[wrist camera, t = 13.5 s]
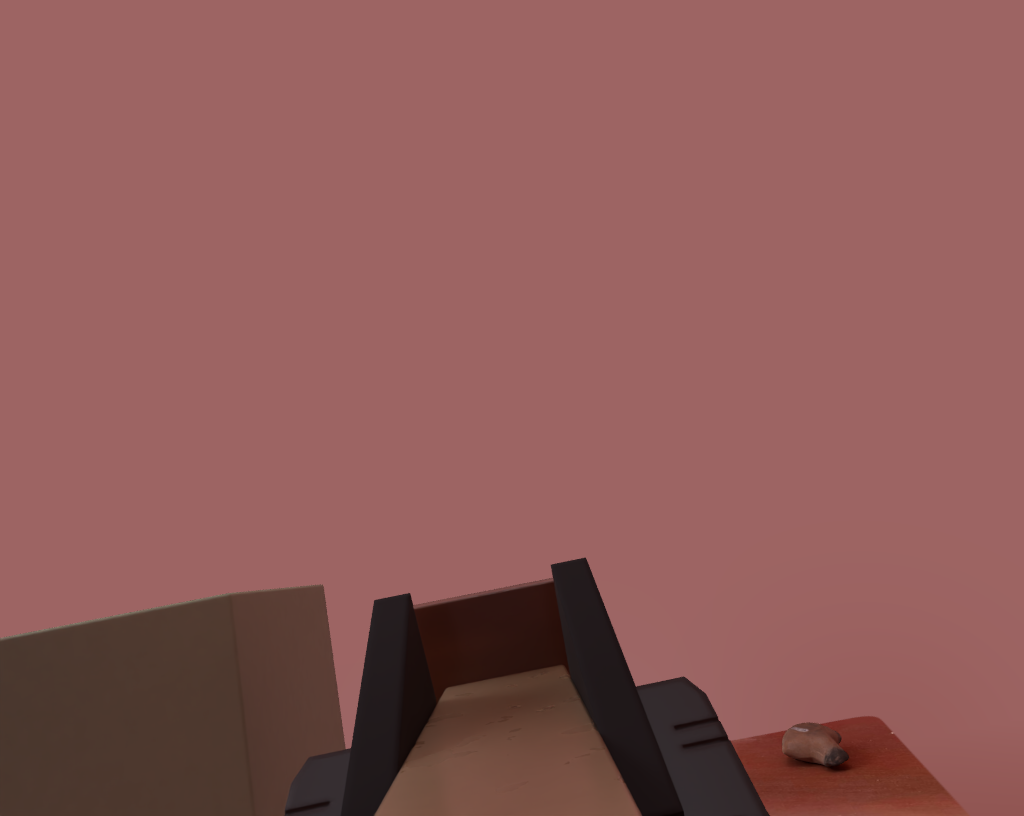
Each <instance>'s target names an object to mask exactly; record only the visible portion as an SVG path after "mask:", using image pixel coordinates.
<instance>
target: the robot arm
mask: <svg viewBox="0 0 1024 816" xmlns="http://www.w3.org/2000/svg"><path fill="white" fill-rule="evenodd" d="M551 568H552V575H553V580H554V586H555V592H556V597H557V603H558V609H559V614H560V620H561V626H562V631H563V637H564V643H565V648H566V654H567V660H568V666H569V671H570V675H571V679H572V681H573V683H574V685H575V687H576V689H577V691H578V693H579V695H580V697H581V699H582V701H583V703H584V705H585V706H586V708H587V710H588V712H589V714H590V716H591V718H592V720H593V722H594V724H595V726H596V728H597V730H598V732H599V734H600V735H601V737H602V739H603V741H604V743H605V745H606V747H607V749H608V750H609V752H610V754H611V756H612V758H613V760H614V762H615V764H616V766H617V768H618V770H619V772H620V774H621V776H622V778H623V779H624V781H625V783H626V785H627V787H628V789H629V791H630V793H631V795H632V797H633V799H634V801H635V803H636V805H637V807H638V808H639V810H640V812H641V814H642V816H770V815H769V814H768V812H767V811H766V809H765V807H764V805H763V803H762V801H761V799H760V797H759V795H758V793H757V792H756V790H755V788H754V786H753V784H752V782H751V780H750V778H749V776H748V774H747V772H746V770H745V768H744V766H743V765H742V763H741V761H740V759H739V757H738V755H737V753H736V751H735V749H734V747H733V745H732V743H731V741H730V740H729V739H728V736H727V734H726V732H725V730H724V728H723V726H722V724H721V722H720V721H719V720H718V716H717V714H716V712H715V711H714V709H713V707H712V705H711V703H710V701H709V699H708V697H707V695H706V694H705V693H704V692H703V691H702V690H700V689H699V688H698V687H696V686H695V685H694V684H693V683H691V682H690V681H689V680H688V679H687V678H685V677H680V678H675V679H671V680H666V681H661V682H656V683H651V684H647V685H642V686H637V687H636V686H635V683H634V681H633V678H632V676H631V673H630V671H629V668H628V665H627V663H626V660H625V658H624V655H623V652H622V650H621V647H620V645H619V642H618V640H617V637H616V634H615V632H614V629H613V627H612V624H611V621H610V619H609V616H608V614H607V611H606V609H605V606H604V603H603V601H602V598H601V596H600V593H599V590H598V588H597V585H596V583H595V580H594V577H593V575H592V572H591V570H590V567H589V564H588V562H587V560H586V558H582V559H577V560H572V561H567V562H562V563H557V564H552V565H551ZM435 707H436V696H435V692H434V688H433V684H432V680H431V676H430V672H429V668H428V664H427V660H426V656H425V652H424V648H423V644H422V640H421V636H420V631H419V627H418V623H417V619H416V615H415V611H414V607H413V603H412V600H411V595H410V593H408V594H403V595H398V596H393V597H388V598H383V599H378V600H375V601H374V606H373V613H372V618H371V625H370V632H369V638H368V644H367V651H366V657H365V663H364V669H363V676H362V682H361V689H360V695H359V701H358V708H357V714H356V720H355V727H354V733H353V740H352V747H351V748H350V749H345V750H341V751H336V752H331V753H326V754H321V755H317V756H312V757H309V758H308V759H307V761H306V762H305V764H304V765H303V767H302V768H301V770H300V771H299V773H298V774H297V775H296V777H295V778H294V780H293V781H292V783H291V786H290V790H289V794H288V798H287V802H286V806H285V816H374V815H375V813H376V812H377V810H378V808H379V806H380V804H381V803H382V801H383V799H384V797H385V796H386V794H387V792H388V790H389V788H390V787H391V785H392V783H393V781H394V780H395V778H396V776H397V774H398V773H399V771H400V769H401V767H402V765H403V764H404V762H405V760H406V758H407V757H408V755H409V753H410V751H411V749H412V748H413V746H414V744H415V742H416V741H417V739H418V737H419V735H420V734H421V732H422V730H423V728H424V726H425V725H426V723H427V721H428V719H429V718H430V716H431V714H432V712H433V711H434V709H435Z"/></svg>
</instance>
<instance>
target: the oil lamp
mask: <svg viewBox="0 0 1024 816" xmlns="http://www.w3.org/2000/svg"><path fill="white" fill-rule="evenodd" d="M840 742H841V736H840V735H839V733H837V732H836V731H834V730H832V729H830V728H828V727H826V726H823V725H820V724H817V723H801V724H797V725H794V726H793V727H791V728H789V729H788V730H787V731H786V733H785V734H784V736H783V740H782V752H783V753H784V754H785V755H787V756H789V757H792V758H795V759H797V760H802V761H806V762H811V763H819V764H823V765H825V766H826V767H830V766H838V765H840V764H842V763H843V762H845V761H847V760H848V759H849V756H848V754H847V753H846V752H845V751H844V750H843V749H842V748H841V747H840V746H839V743H840Z"/></svg>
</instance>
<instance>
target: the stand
mask: <svg viewBox="0 0 1024 816" xmlns="http://www.w3.org/2000/svg"><path fill="white" fill-rule="evenodd" d="M341 750H345V742H344V734H343V727H342V720H341V712H340V705H339V698H338V690H337V682H336V675H335V668H334V661H333V653H332V646H331V638H330V631H329V624H328V616H327V609H326V602H325V594H324V587H323V585H311V586H300V587H290V588H281V589H280V588H279V589H270V590H258V591H248V592H237V593H228V594H222V595H217V596H212V597H207V598H203V599H197V600H192V601H187V602H182V603H177V604H171V605H167V606H161V607H156V608H151V609H146V610H141V611H136V612H131V613H126V614H121V615H116V616H110V617H105V618H100V619H95V620H90V621H85V622H81V623H75V624H70V625H65V626H60V627H54V628H49V629H44V630H39V631H34V632H29V633H24V634H19V635H14V636H9V637H4V638H0V816H285V806H286V802H287V798H288V794H289V790H290V786H291V783H292V781H293V780H294V778H295V777H296V775H297V774H298V773H299V771H300V770H301V768H302V767H303V765H304V764H305V762H306V761H307V759H308V758H309V757H312V756H317V755H321V754H326V753H331V752H336V751H341Z"/></svg>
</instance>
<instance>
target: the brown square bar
mask: <svg viewBox="0 0 1024 816" xmlns="http://www.w3.org/2000/svg"><path fill="white" fill-rule="evenodd" d="M413 607H414V611H415V615H416V619H417V623H418V627H419V631H420V636H421V640H422V644H423V648H424V652H425V656H426V660H427V664H428V668H429V672H430V676H431V680H432V684H433V688H434V692H435V696H436V707H435V709H434V711H433V712H432V714H431V716H430V718H429V719H428V721H427V723H426V725H425V726H424V728H423V730H422V732H421V734H420V735H419V737H418V739H417V741H416V742H415V744H414V746H413V748H412V749H411V751H410V753H409V755H408V757H407V758H406V760H405V762H404V764H403V765H402V767H401V769H400V771H399V773H398V774H397V776H396V778H395V780H394V781H393V783H392V785H391V787H390V788H389V790H388V792H387V794H386V796H385V797H384V799H383V801H382V803H381V804H380V806H379V808H378V810H377V812H376V813H375V815H374V816H642V814H641V812H640V810H639V808H638V807H637V805H636V803H635V801H634V799H633V797H632V795H631V793H630V791H629V789H628V787H627V785H626V783H625V781H624V779H623V778H622V776H621V774H620V772H619V770H618V768H617V766H616V764H615V762H614V760H613V758H612V756H611V754H610V752H609V750H608V749H607V747H606V745H605V743H604V741H603V739H602V737H601V735H600V734H599V732H598V730H597V728H596V726H595V724H594V722H593V720H592V718H591V716H590V714H589V712H588V710H587V708H586V706H585V705H584V703H583V701H582V699H581V697H580V695H579V693H578V691H577V689H576V687H575V685H574V683H573V681H572V679H571V675H570V671H569V666H568V660H567V654H566V648H565V643H564V637H563V631H562V626H561V620H560V614H559V609H558V603H557V597H556V592H555V586H554V580H553V578H550V579H545V580H540V581H535V582H530V583H524V584H519V585H515V586H510V587H504V588H499V589H494V590H489V591H484V592H479V593H474V594H468V595H463V596H459V597H454V598H448V599H443V600H438V601H433V602H428V603H423V604H418V605H413Z"/></svg>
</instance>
